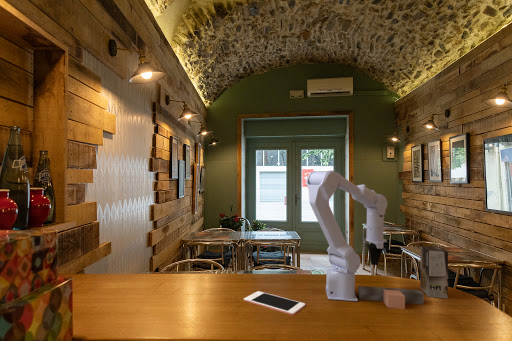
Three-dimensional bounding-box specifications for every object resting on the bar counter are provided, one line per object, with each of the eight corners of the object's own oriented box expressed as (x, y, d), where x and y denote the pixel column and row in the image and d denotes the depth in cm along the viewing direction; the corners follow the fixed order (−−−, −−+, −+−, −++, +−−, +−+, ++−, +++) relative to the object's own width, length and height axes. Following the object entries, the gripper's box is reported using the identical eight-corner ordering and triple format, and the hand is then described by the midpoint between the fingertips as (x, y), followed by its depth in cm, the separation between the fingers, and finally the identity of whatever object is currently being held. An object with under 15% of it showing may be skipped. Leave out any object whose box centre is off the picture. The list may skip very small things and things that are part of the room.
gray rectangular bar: (359, 299, 101) (359, 288, 101) (357, 296, 104) (357, 285, 104) (423, 304, 98) (423, 293, 98) (419, 300, 101) (419, 290, 101)
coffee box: (448, 299, 103) (449, 251, 104) (428, 297, 104) (428, 250, 105) (438, 289, 112) (438, 246, 113) (419, 288, 113) (419, 244, 114)
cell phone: (257, 293, 104) (258, 290, 104) (306, 306, 94) (306, 303, 94) (242, 301, 97) (242, 298, 97) (293, 316, 87) (293, 313, 87)
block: (388, 308, 95) (388, 295, 95) (383, 301, 99) (383, 289, 100) (404, 309, 94) (405, 296, 94) (399, 303, 99) (399, 290, 99)
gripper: (392, 230, 102) (392, 271, 102) (380, 224, 117) (380, 260, 116) (371, 229, 103) (370, 269, 103) (361, 223, 117) (361, 259, 117)
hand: (374, 264), depth 109 cm, fingers closed
